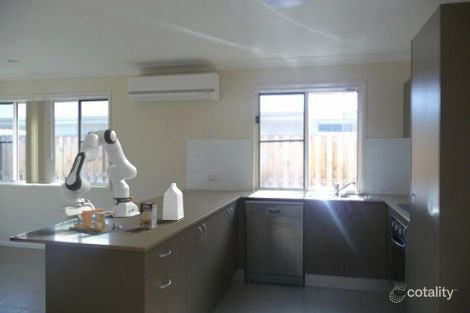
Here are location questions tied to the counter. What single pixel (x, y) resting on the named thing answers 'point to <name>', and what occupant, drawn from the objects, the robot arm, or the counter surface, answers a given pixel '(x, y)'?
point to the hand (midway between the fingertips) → (84, 221)
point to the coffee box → (148, 215)
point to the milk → (173, 204)
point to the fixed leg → (98, 222)
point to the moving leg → (89, 216)
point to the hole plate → (107, 229)
